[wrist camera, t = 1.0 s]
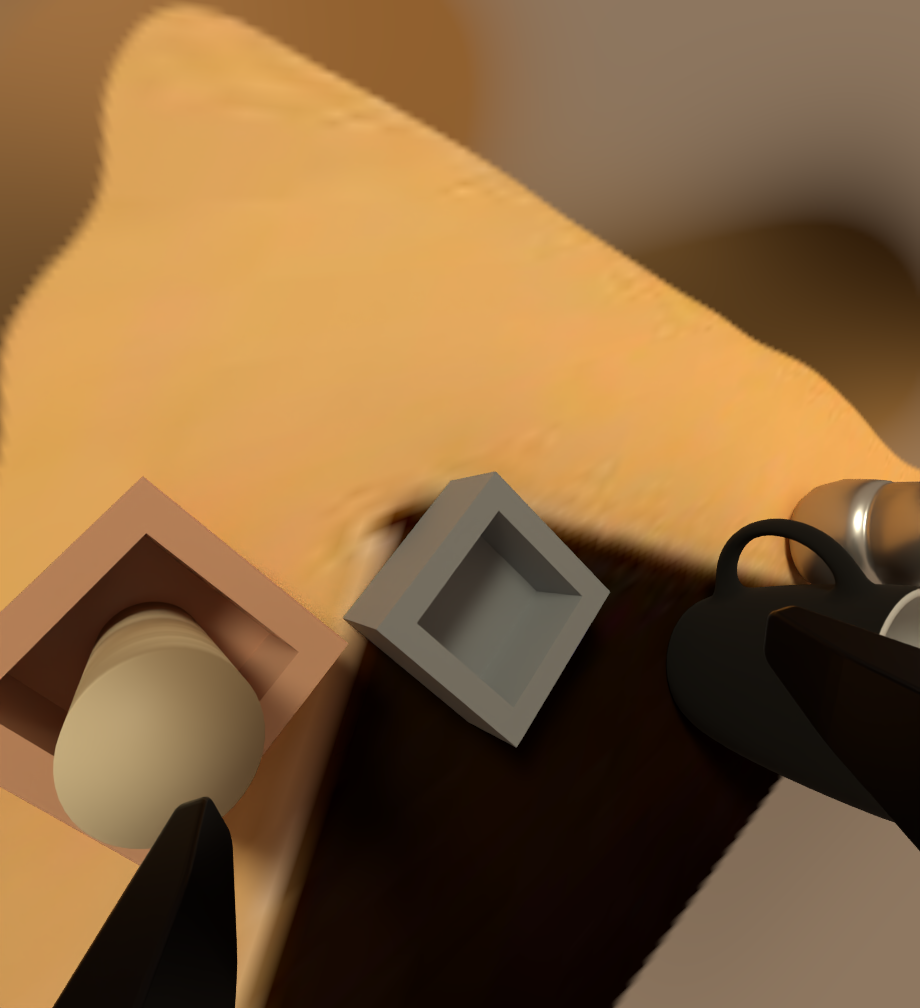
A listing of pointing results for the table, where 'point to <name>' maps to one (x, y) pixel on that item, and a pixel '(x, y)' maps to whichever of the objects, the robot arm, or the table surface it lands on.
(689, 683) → the mug
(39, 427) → the table surface
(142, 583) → the square box
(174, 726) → the dowel
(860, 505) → the plastic bottle
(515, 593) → the socket block
